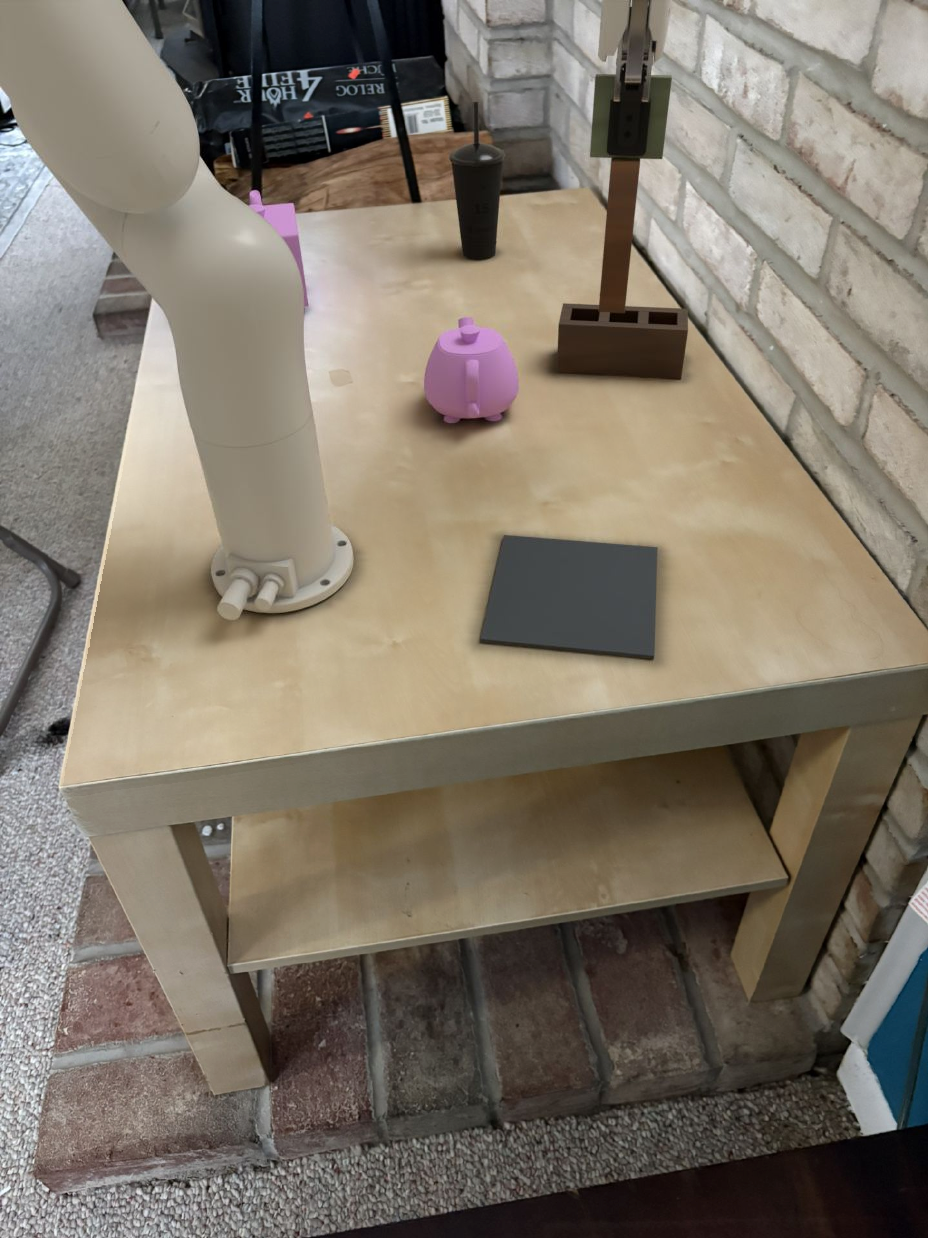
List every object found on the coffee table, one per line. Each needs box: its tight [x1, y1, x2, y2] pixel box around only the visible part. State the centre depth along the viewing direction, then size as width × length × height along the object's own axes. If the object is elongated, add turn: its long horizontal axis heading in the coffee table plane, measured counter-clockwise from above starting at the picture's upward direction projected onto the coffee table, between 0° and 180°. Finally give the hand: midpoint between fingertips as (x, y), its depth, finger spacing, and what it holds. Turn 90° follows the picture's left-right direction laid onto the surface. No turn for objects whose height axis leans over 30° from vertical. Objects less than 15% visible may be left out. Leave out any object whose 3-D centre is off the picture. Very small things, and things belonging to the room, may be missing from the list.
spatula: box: [589, 73, 673, 313], centre depth 79 cm, size 2×6×19 cm, turn 81°
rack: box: [556, 302, 689, 380], centre depth 107 cm, size 6×14×6 cm, turn 80°
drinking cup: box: [448, 101, 506, 261], centre depth 129 cm, size 8×8×20 cm
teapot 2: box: [423, 316, 520, 424], centre depth 100 cm, size 10×15×9 cm
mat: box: [479, 534, 658, 660], centre depth 79 cm, size 14×14×1 cm
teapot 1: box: [247, 189, 309, 307], centre depth 122 cm, size 20×10×12 cm, turn 10°
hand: (626, 150), depth 77 cm, fingers closed on spatula, 1 cm apart
